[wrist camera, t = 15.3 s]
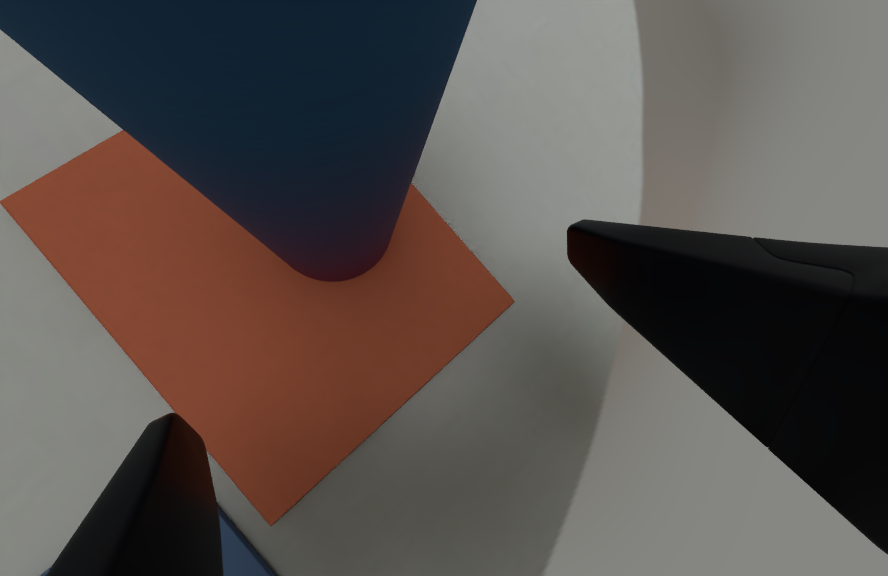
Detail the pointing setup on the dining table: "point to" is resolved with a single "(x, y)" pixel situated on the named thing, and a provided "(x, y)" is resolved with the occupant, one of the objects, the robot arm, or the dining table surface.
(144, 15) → the cup
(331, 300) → the terracotta mat
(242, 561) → the blue mat
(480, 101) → the dining table surface
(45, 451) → the dining table surface
